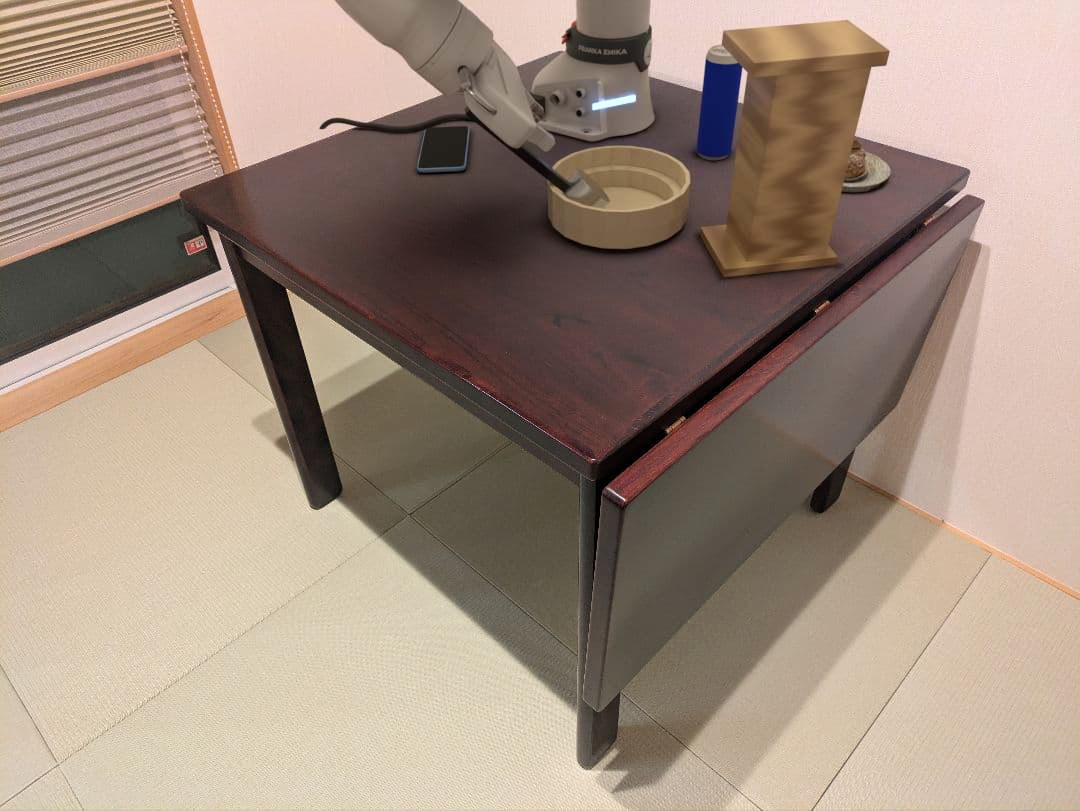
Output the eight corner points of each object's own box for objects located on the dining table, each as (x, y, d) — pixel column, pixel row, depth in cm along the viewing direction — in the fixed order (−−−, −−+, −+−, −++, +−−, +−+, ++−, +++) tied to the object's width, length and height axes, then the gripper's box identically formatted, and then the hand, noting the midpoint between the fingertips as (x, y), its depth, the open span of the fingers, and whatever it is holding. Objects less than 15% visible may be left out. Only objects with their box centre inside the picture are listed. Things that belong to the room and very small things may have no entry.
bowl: (527, 238, 103) (524, 196, 99) (579, 177, 115) (579, 137, 111) (661, 265, 97) (665, 222, 93) (702, 198, 109) (706, 157, 105)
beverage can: (734, 149, 120) (748, 46, 110) (725, 163, 116) (739, 58, 106) (701, 144, 121) (712, 42, 111) (691, 158, 118) (701, 54, 108)
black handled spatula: (588, 204, 107) (603, 188, 106) (598, 225, 103) (614, 208, 102) (461, 102, 95) (477, 82, 94) (467, 121, 91) (483, 101, 90)
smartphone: (469, 124, 128) (465, 166, 117) (470, 130, 128) (466, 172, 117) (424, 126, 128) (415, 168, 117) (424, 131, 128) (416, 173, 117)
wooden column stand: (723, 277, 95) (754, 62, 78) (699, 235, 102) (722, 30, 85) (835, 265, 96) (890, 50, 79) (804, 224, 103) (847, 19, 86)
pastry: (784, 176, 113) (790, 145, 110) (827, 147, 119) (834, 117, 116) (862, 202, 106) (871, 170, 103) (903, 171, 113) (912, 140, 110)
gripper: (483, 64, 80) (578, 147, 87) (468, 4, 95) (550, 80, 102) (444, 112, 83) (540, 188, 90) (435, 46, 98) (518, 117, 105)
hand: (545, 130), depth 96 cm, fingers open, 7 cm apart
